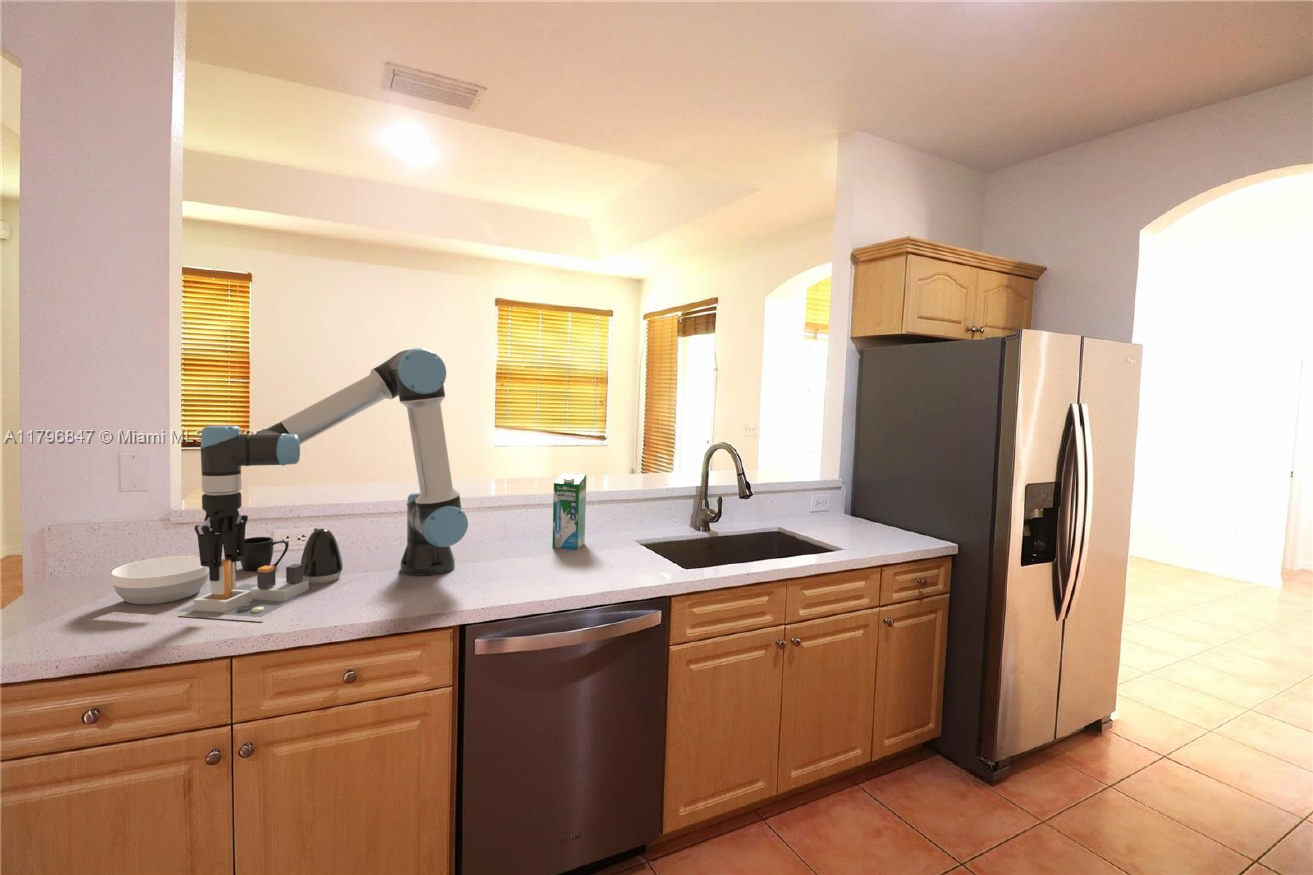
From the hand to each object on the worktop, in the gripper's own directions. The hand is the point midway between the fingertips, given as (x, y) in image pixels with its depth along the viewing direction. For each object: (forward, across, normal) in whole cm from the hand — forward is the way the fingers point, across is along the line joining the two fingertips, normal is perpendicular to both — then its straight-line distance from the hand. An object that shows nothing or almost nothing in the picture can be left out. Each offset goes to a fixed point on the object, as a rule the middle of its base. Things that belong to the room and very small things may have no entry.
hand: (223, 591), depth 145 cm
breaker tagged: (+1, -6, +6) cm, 9 cm away
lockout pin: (+3, 0, 0) cm, 3 cm away
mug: (+5, -29, -12) cm, 32 cm away
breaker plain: (+1, -12, +10) cm, 15 cm away
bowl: (+5, -4, -19) cm, 20 cm away
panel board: (+5, -5, +3) cm, 8 cm away
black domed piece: (+5, -23, +9) cm, 25 cm away
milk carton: (+5, -78, +65) cm, 101 cm away
